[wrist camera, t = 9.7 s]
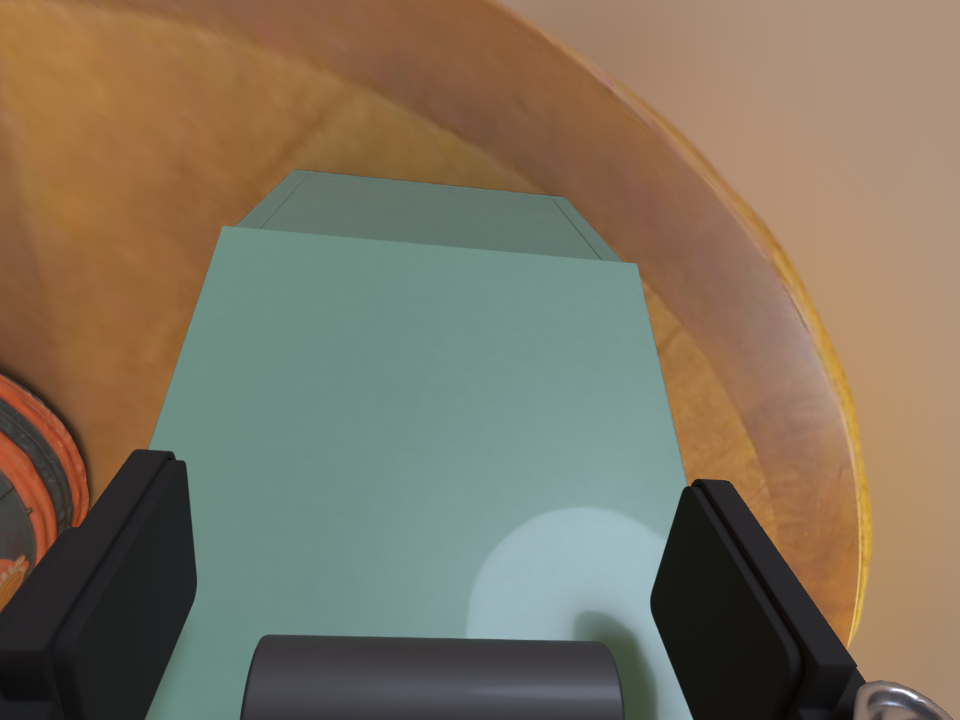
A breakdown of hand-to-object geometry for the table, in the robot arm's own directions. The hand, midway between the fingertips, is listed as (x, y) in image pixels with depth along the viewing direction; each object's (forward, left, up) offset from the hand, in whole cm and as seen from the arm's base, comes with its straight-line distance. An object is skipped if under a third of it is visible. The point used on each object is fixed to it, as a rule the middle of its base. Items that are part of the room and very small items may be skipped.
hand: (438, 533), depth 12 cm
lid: (+1, +1, -4) cm, 4 cm away
